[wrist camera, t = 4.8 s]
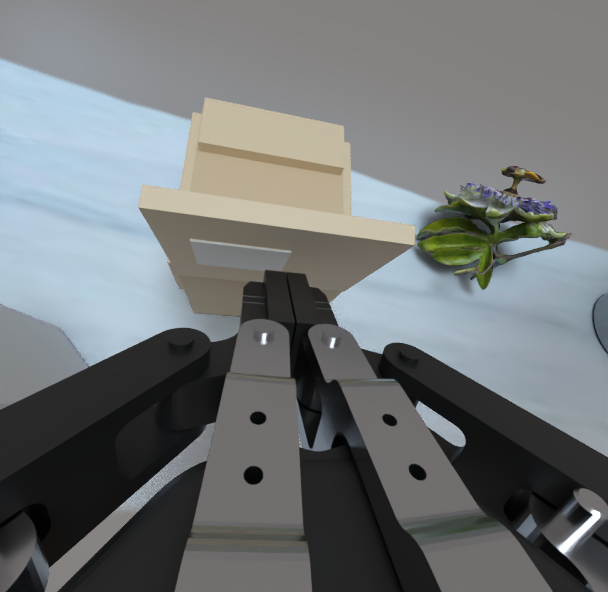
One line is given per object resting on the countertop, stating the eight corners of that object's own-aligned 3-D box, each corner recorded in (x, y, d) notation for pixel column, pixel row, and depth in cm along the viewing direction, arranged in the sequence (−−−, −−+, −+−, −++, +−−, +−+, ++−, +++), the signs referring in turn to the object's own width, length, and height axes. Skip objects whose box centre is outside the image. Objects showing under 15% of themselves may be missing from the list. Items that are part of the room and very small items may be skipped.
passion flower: (437, 238, 43) (541, 186, 36) (464, 314, 38) (591, 270, 31) (395, 199, 35) (517, 122, 28) (422, 287, 30) (579, 220, 23)
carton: (316, 207, 34) (354, 126, 23) (314, 322, 30) (357, 285, 20) (204, 190, 31) (192, 92, 21) (186, 312, 28) (163, 264, 18)
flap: (414, 225, 12) (415, 247, 12) (344, 278, 20) (344, 293, 20) (142, 184, 10) (137, 210, 10) (180, 260, 18) (177, 276, 18)
